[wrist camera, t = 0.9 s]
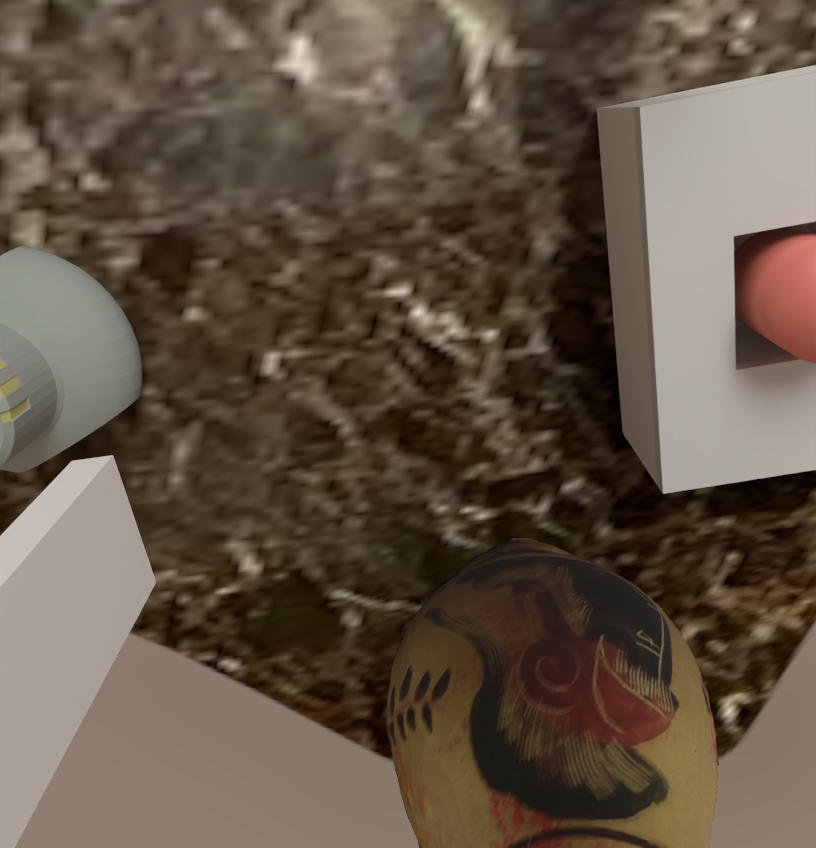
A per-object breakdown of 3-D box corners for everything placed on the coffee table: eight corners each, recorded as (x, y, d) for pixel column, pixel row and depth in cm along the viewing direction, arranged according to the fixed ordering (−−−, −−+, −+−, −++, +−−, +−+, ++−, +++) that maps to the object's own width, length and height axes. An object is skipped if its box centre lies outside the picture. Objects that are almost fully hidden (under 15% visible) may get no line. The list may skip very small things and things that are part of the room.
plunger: (720, 236, 31) (774, 258, 27) (827, 217, 31) (900, 235, 26) (722, 336, 33) (773, 372, 28) (824, 318, 33) (892, 352, 28)
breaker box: (596, 108, 33) (639, 107, 27) (874, 53, 32) (986, 38, 26) (622, 432, 39) (663, 493, 33) (856, 394, 38) (944, 449, 32)
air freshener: (24, 458, 40) (-92, 562, 31) (-88, 330, 37) (-253, 401, 28) (186, 360, 38) (114, 439, 28) (80, 215, 35) (-39, 252, 26)
